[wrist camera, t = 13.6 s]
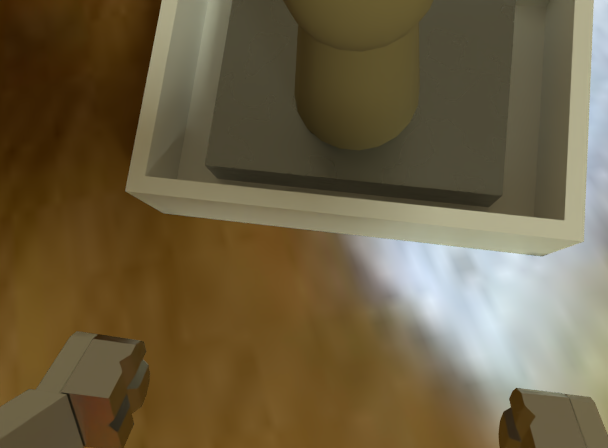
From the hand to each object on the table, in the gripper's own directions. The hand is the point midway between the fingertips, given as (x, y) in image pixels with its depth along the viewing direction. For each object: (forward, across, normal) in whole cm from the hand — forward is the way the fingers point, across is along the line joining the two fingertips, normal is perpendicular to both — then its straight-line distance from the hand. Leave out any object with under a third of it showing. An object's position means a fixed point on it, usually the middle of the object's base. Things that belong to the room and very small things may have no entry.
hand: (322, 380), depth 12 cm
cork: (+17, 0, 0) cm, 17 cm away
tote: (+20, 0, +2) cm, 20 cm away
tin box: (+19, 0, +1) cm, 19 cm away
